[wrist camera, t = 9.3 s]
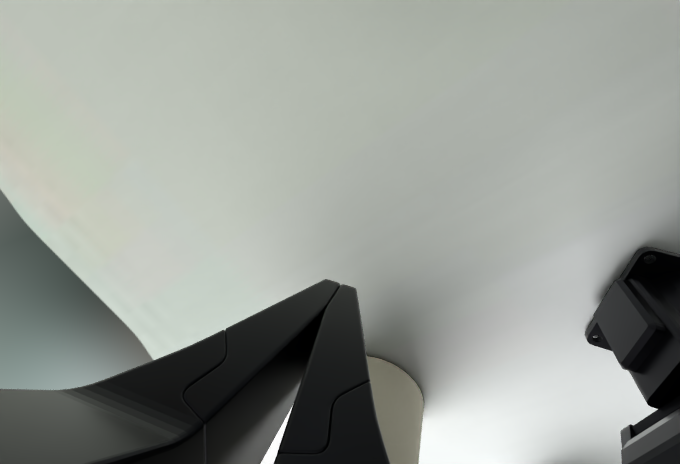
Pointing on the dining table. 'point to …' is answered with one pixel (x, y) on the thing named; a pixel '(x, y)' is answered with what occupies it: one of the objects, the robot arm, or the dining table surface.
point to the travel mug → (397, 410)
